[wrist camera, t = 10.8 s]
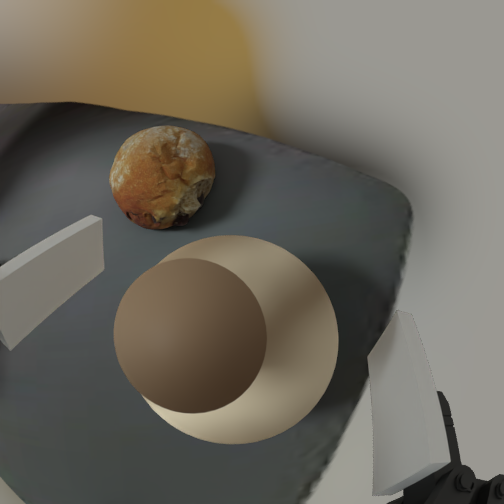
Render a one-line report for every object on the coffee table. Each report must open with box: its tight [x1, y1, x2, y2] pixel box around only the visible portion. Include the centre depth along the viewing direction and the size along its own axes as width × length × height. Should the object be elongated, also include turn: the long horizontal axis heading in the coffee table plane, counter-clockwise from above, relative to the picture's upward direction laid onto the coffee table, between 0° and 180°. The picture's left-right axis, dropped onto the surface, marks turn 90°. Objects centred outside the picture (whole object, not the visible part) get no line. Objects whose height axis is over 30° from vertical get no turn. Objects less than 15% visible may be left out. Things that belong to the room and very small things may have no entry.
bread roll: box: [109, 126, 216, 229], centre depth 24 cm, size 10×10×8 cm
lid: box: [114, 235, 339, 444], centre depth 11 cm, size 13×13×11 cm
